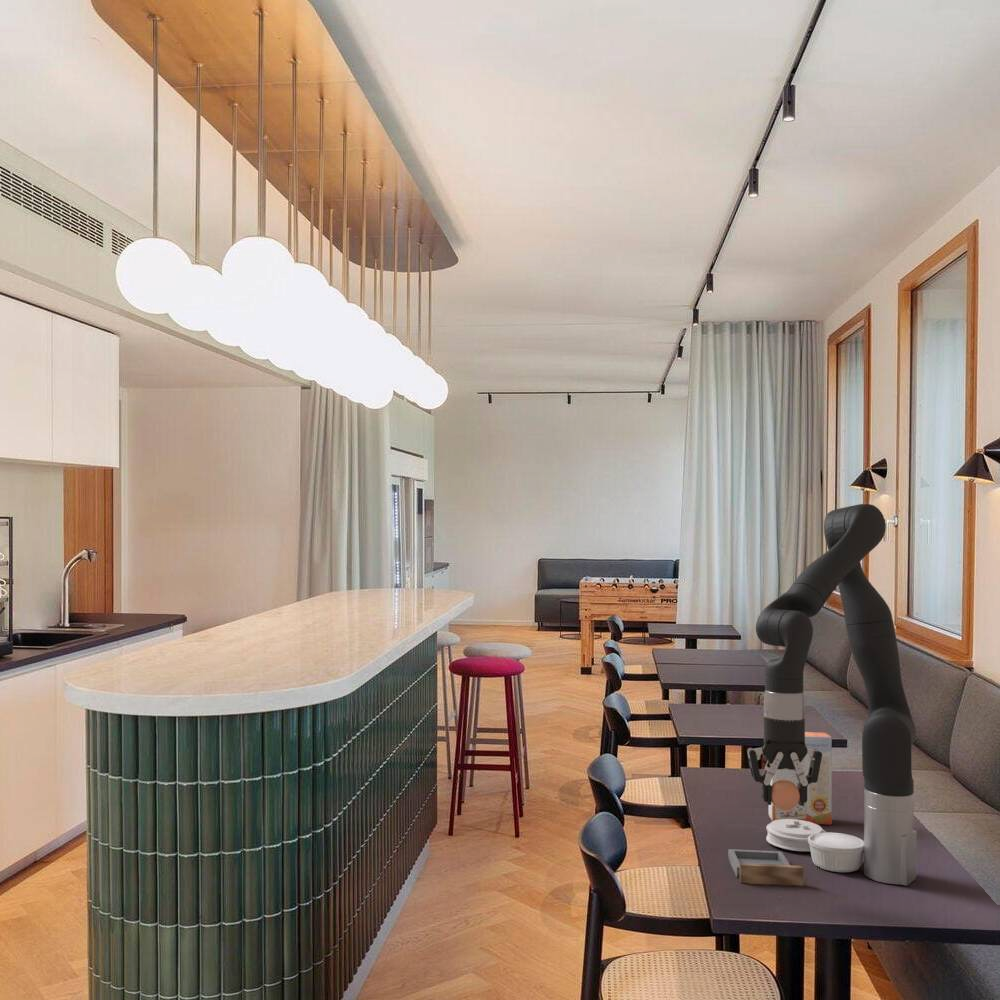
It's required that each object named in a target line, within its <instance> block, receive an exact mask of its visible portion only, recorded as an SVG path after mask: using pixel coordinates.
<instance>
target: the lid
mask: <svg viewBox="0 0 1000 1000" xmlns="http://www.w3.org/2000/svg"><path fill="white" fill-rule="evenodd" d="M765 827H766V831H767V835H766V836H765V838H766V842H768V844H770V845H773V846H774V847H776V848H777V847H778V848H781V849H784V850H788V851H796V852H811V851H810V844H809V843H808V837H809V836H810V835H812V834H816V833H827V831H826V830H824V829H823V828H822V827H821V825H820V824H814V823H811V822H808V821H803V820H796V819H779V820H775V821H772V820H771V821H770V823H768V824H767V825H766V826H765Z"/></svg>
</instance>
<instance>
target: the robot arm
mask: <svg viewBox="0 0 1000 1000" xmlns="http://www.w3.org/2000/svg"><path fill="white" fill-rule="evenodd" d="M886 527H887V525H886V520H885V517H884V514H883V512H882V511H881V510H880V509H879V508H878V507H877V506H875V505H874V504H870V503H860V504H855V505H851V506H846V507H845V506H844V507H840V508H835V509H832V510H831V511H828V513H826V516H825V518H824V521H823V533H824V538H825V543H826V546H827V549H828V550H827V551H826V552H825V553H823V554H822V555H820V556H819V557H817V558H816V559H815V560H813V561H812V562H811V563H810V564H809V565H807V566H805V568H804V569H803V570H802V571H801V572H800V574H799V575H798V576H797V577H796V579H795V580H794V582H793V583H792V585H790V587H789V588H788V590H787V591H785V592H784V593H783V594H781V595H780V596H778V597H777V598H775V599H773V601H771V603H769V604H768V605H766V607H765V608H764V609H763V610H762V611H761V612H760V614H759V615H758V617H757V619H756V623H755V632H756V636H757V638H758V639H759V641H760V642H762V644H763V643H764V644H765V645H768V646H774V647H783V648H785V650H784V653H783V655H782V657H781V658H780V657H779V658H773V659H769V660H767V662H766V663H765V669H764V687H765V688H764V697H763V742H762V745H761V747H756V748H755V747H754V748H752V747H748V748H747V749H746V754H747V759H748V764H749V770H750V774H751V778H752V779H753V780H754V782H757V783H760V784H761V798H762V801H763V803H765V805H767V806H768V805H771V785H770V782H771V780H772V778H773V776H774V775H775V773H776V770H777V769H785V768H786V769H789V770H794V772H795V774H796V776H797V779H798V781H799V783H797V788H798V790H799V793H800V800H799V802H798V804H799V805H800V806H804V803H806V802H807V786H808V785H809V784H810V783H816V782H817V781H818V775H819V770H820V764H821V759H822V753H821V752H820V751H819V750H817V749H813V750H812V749H807V747H806V745H805V732H806V723H805V722H806V721H805V720H806V703H805V695H804V669H805V666H806V661H807V657H808V654H809V651H810V647H811V644H812V641H813V636H814V635H813V634H814V628H813V622H812V621H811V619H810V618H812V617H814V616H816V615H817V614H819V612H820V611H821V609H822V608H823V607H824V605H825V604H826V602H827V601H828V600H829V598H830V596H831V595H832V594H833V593H834V591H835V590H836V589H837V587H838V592H839V594H840V598H841V604H842V609H843V614H844V616H843V617H844V623H845V629H846V635H847V639H848V644H849V647H850V651H851V654H852V657H853V659H854V662H855V664H856V667H857V669H858V671H859V673H860V676H861V678H862V681H863V684H864V688H865V692H866V693H865V694H866V699H867V707H868V719H867V720H866V721H865V723H864V725H863V727H862V728H863V729H862V734H861V735H862V736H861V756H862V757H861V758H862V759H861V760H862V761H861V762H862V763H861V764H862V768H861V769H862V776H863V781H864V785H863V786H864V788H863V789H864V790H863V791H864V792H863V793H864V795H863V797H864V798H863V800H864V801H863V809H864V810H863V841H864V853H863V874H864V876H866V877H867V878H869V879H871V880H873V881H876V882H879V883H882V884H883V883H884V884H890V885H901V886H906V887H907V886H909V885H910V884H911V883H912V882H914V881H915V880H916V879H917V873H918V869H917V868H918V866H917V862H918V859H917V858H918V857H917V856H918V844H917V843H918V839H917V838H918V832H917V830H916V829H914V799H915V796H914V794H915V793H914V792H915V791H914V790H915V789H914V787H915V785H914V783H915V781H914V779H913V773H912V749H913V748H912V746H913V744H914V743H915V740H916V726H915V723H914V719H913V717H912V713H911V710H910V707H909V703H908V700H907V696H906V694H905V690H904V686H903V682H902V681H903V680H902V673H901V663H900V656H899V650H898V649H899V648H898V641H897V634H896V629H895V625H894V618H893V614H892V611H891V609H890V607H889V605H888V604H887V602H886V600H885V598H883V597H882V595H881V594H880V593H879V592H878V591H877V589H876V588H875V587H874V585H873V584H872V583H871V582H870V580H869V579H868V577H867V576H866V574H865V572H864V569H863V568H862V564H861V561H862V560H863V559H864V558H865V557H866V556H867V555H868V554H869V553H871V551H873V549H875V548H876V547H877V546H878V545H879V544H880V543H881V542H882V540H883V538H884V536H885V534H886ZM807 754H808V758H809V760H810V766H809V772H808V775H806V776H805V774H804V771H803V768H802V766H801V764H800V763H801V761H802V760H803V759H804V757H805V756H806V755H807ZM761 755H763V756H764V757H765V759H766V760H767V761H766V763H765V766H764V771H763V772H762V774H761V772H760V767H759V762H758V761H759V760H761Z"/></svg>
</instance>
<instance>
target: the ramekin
mask: <svg viewBox="0 0 1000 1000" xmlns="http://www.w3.org/2000/svg"><path fill="white" fill-rule="evenodd" d="M808 843H809V844H810V851H809V852H810V855H811V860H812V862H813V864H814V865H815V866H816V867H817V866H818V868H819V867H820V869H822V870H826V871H829V872H834V873H851V872H852V873H853V872H856V871H858V870H859V869H860V868H861V867H862V864H863V860H864V839H861V838H860V837H857V836H854V835H851V834H847V833H841V832H840V833H839V832H826V833H816V834H812V835H810V836H809V837H808Z"/></svg>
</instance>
